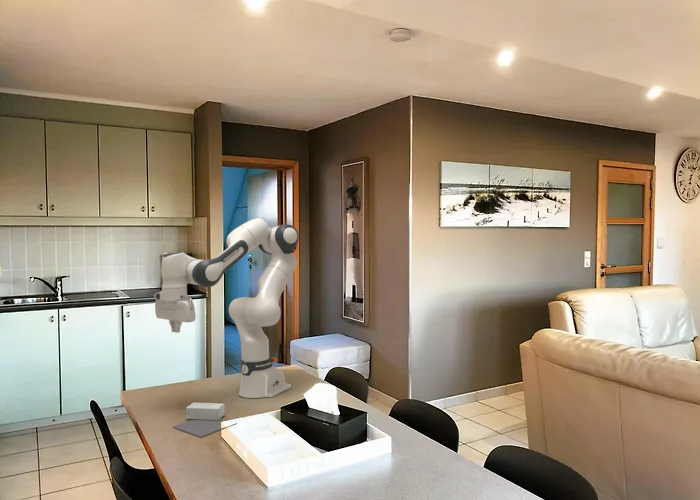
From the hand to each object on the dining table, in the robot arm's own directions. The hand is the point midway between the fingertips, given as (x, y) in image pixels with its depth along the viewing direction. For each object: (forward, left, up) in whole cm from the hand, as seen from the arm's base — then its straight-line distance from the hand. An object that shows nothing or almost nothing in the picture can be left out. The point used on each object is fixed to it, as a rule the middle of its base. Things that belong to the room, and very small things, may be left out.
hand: (175, 332), depth 198 cm
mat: (+5, +22, -29) cm, 37 cm away
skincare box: (+3, +11, -27) cm, 29 cm away
